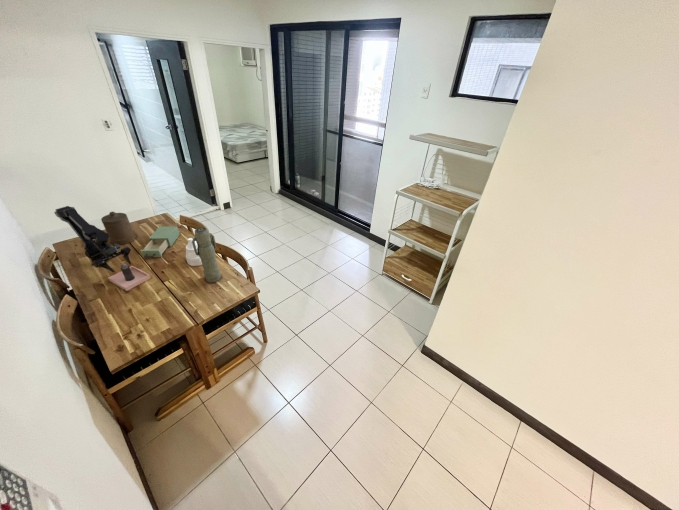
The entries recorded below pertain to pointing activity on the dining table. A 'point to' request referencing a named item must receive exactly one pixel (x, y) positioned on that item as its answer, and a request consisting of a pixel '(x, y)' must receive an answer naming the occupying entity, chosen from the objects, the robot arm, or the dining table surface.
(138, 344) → the dining table surface
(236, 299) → the dining table surface
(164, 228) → the cabinet
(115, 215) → the wooden container
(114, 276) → the tray
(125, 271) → the pepper mill
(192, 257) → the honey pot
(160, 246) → the drawer
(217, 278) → the thermos
